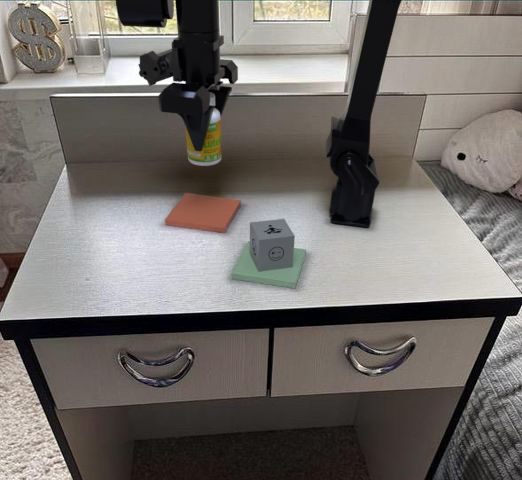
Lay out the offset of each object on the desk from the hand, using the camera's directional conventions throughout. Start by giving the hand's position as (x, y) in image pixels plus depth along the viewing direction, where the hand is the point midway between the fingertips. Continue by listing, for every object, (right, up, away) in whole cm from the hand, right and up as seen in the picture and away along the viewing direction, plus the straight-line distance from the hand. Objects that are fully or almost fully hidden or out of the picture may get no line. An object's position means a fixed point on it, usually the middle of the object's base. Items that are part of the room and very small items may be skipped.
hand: (204, 144), depth 82 cm
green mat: (+10, -20, -6) cm, 23 cm away
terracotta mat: (-1, -10, +5) cm, 11 cm away
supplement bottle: (0, -2, +2) cm, 3 cm away
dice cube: (+10, -20, -6) cm, 23 cm away
